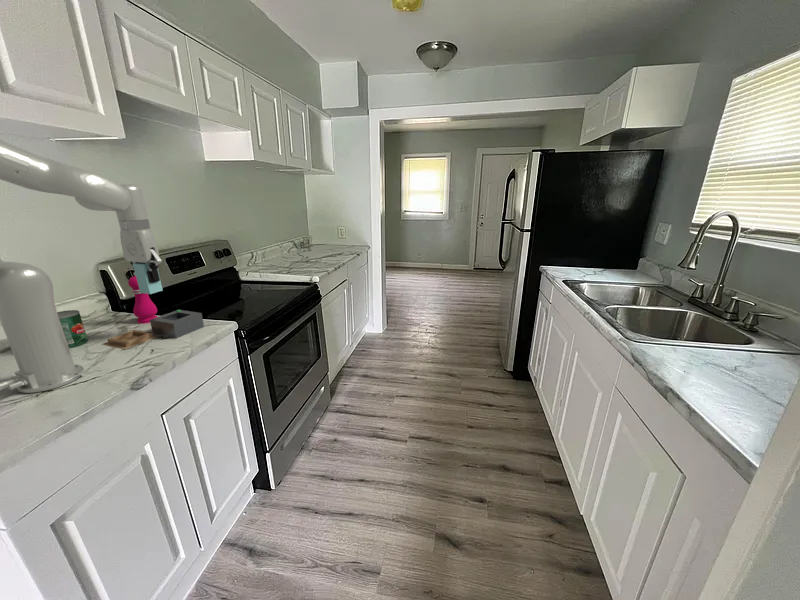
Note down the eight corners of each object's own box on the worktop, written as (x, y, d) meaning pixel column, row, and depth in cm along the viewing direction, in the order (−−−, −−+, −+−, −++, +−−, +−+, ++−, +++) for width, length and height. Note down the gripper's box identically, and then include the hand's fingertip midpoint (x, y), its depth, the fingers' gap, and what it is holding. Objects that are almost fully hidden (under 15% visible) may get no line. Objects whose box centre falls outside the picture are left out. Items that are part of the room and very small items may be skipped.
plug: (150, 294, 107) (141, 260, 104) (140, 292, 109) (131, 259, 105) (162, 290, 111) (155, 258, 108) (153, 289, 113) (145, 257, 109)
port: (176, 340, 111) (173, 322, 109) (153, 335, 114) (149, 318, 112) (204, 328, 121) (201, 312, 119) (182, 324, 124) (178, 308, 122)
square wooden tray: (125, 351, 103) (123, 345, 102) (101, 345, 106) (100, 340, 106) (159, 337, 113) (158, 332, 112) (136, 333, 116) (135, 327, 116)
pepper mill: (131, 324, 124) (118, 273, 118) (150, 317, 131) (138, 269, 124) (145, 326, 122) (133, 274, 116) (164, 319, 129) (152, 270, 123)
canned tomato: (52, 346, 105) (41, 314, 102) (85, 338, 111) (75, 308, 108) (58, 353, 101) (47, 320, 97) (91, 344, 107) (82, 313, 104)
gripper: (103, 225, 102) (119, 282, 108) (142, 228, 97) (157, 286, 103) (128, 223, 108) (142, 276, 114) (166, 225, 104) (178, 280, 110)
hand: (149, 280), depth 109 cm, fingers closed on plug, 4 cm apart
